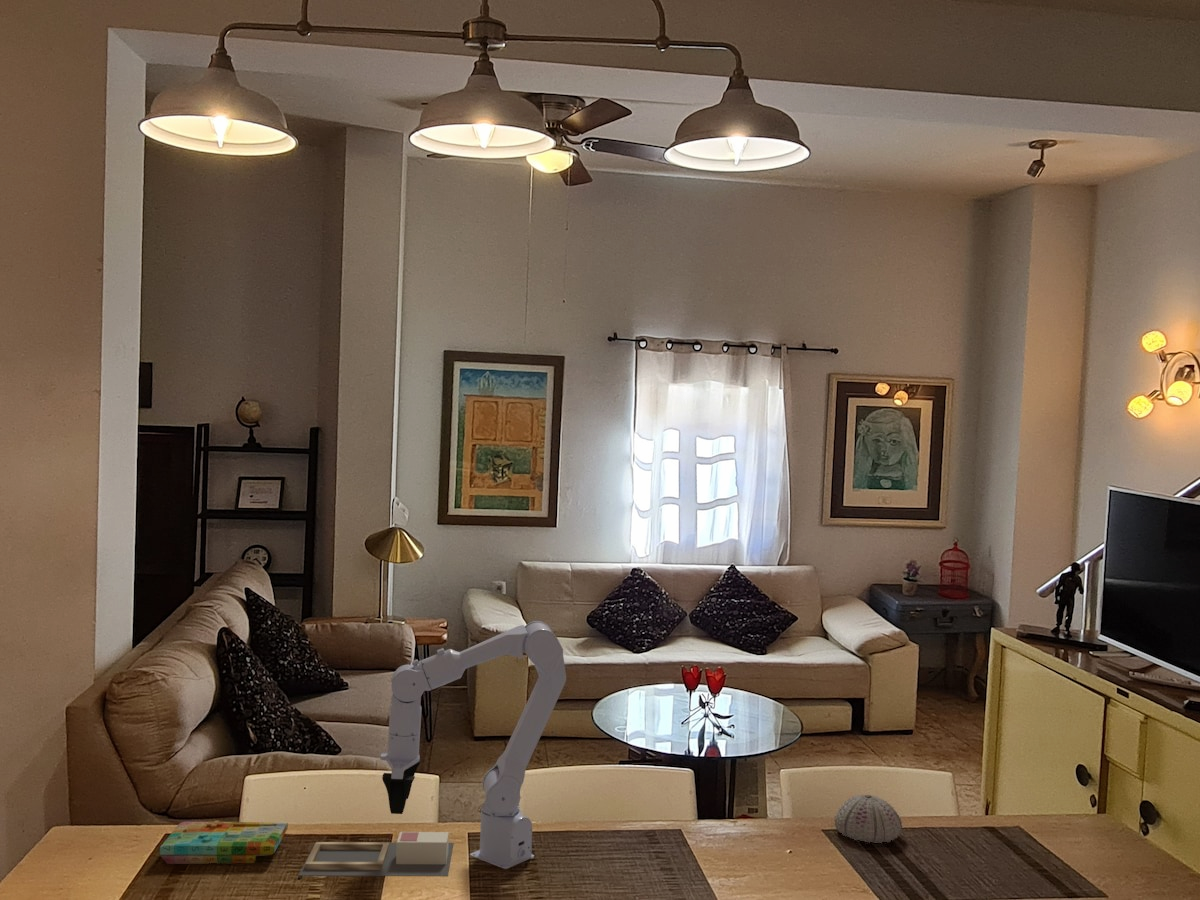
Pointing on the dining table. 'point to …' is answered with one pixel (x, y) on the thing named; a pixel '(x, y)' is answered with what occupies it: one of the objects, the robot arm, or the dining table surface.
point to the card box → (422, 848)
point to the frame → (377, 865)
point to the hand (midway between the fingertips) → (399, 805)
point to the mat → (372, 856)
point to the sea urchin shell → (868, 819)
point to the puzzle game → (221, 842)
